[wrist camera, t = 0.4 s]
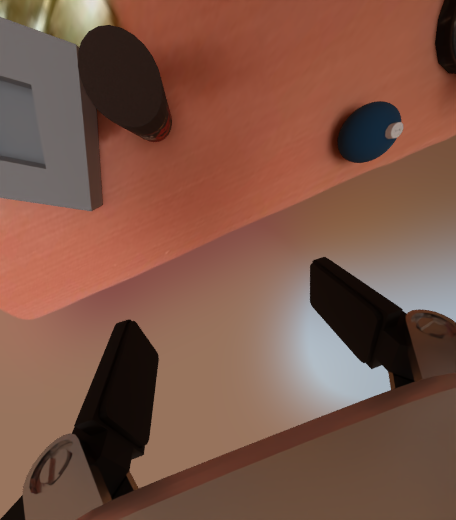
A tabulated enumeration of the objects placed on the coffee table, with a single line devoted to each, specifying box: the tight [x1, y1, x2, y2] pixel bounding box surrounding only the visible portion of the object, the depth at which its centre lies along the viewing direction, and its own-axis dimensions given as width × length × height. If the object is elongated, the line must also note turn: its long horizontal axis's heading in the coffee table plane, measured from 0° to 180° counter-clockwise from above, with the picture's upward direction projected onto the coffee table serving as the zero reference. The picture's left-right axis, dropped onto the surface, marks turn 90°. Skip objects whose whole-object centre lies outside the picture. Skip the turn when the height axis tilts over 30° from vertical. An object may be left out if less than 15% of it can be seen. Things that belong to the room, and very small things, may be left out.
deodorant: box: [78, 25, 172, 142], centre depth 21 cm, size 6×6×15 cm
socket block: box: [0, 17, 103, 211], centre depth 23 cm, size 18×18×4 cm
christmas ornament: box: [338, 101, 403, 163], centre depth 30 cm, size 8×8×10 cm
